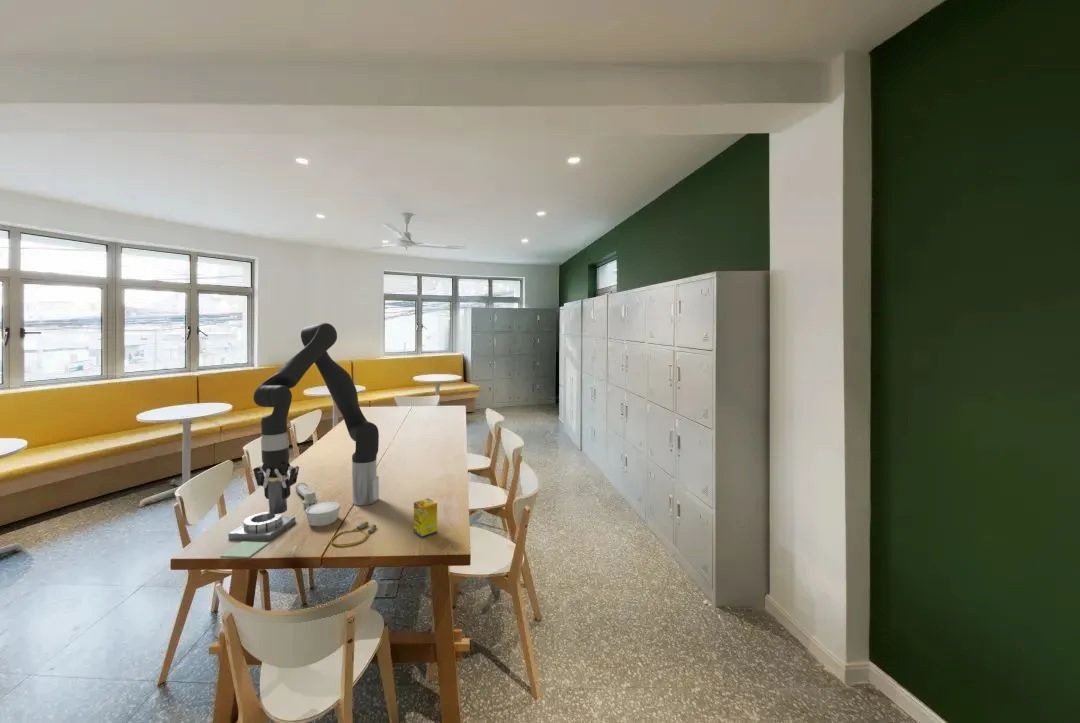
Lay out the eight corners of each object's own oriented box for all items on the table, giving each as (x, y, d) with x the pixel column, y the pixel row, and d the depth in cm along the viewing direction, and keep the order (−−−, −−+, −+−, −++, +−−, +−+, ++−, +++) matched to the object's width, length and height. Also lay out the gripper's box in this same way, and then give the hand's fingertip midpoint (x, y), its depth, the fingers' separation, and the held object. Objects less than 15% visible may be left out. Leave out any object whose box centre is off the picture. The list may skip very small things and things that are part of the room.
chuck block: (295, 522, 155) (295, 510, 155) (269, 540, 141) (269, 527, 141) (257, 520, 155) (257, 509, 155) (228, 539, 142) (228, 526, 141)
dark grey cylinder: (290, 507, 141) (289, 472, 140) (281, 514, 136) (279, 478, 135) (275, 507, 141) (273, 472, 140) (265, 514, 136) (263, 477, 135)
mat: (268, 543, 139) (268, 542, 139) (249, 557, 130) (249, 556, 130) (241, 542, 139) (241, 541, 139) (220, 556, 130) (220, 555, 130)
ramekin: (303, 519, 157) (303, 505, 157) (336, 512, 164) (336, 499, 164) (308, 531, 148) (308, 516, 148) (343, 522, 155) (343, 508, 155)
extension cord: (385, 535, 147) (385, 530, 146) (338, 552, 135) (338, 546, 135) (369, 524, 155) (369, 519, 155) (323, 539, 143) (323, 533, 143)
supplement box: (413, 532, 148) (413, 502, 147) (428, 527, 152) (428, 497, 152) (421, 538, 144) (421, 507, 143) (437, 533, 148) (437, 502, 147)
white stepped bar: (306, 481, 187) (318, 489, 168) (307, 496, 187) (319, 506, 167) (293, 483, 184) (303, 492, 164) (293, 499, 184) (304, 510, 164)
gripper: (303, 443, 141) (305, 493, 142) (261, 443, 141) (263, 493, 142) (290, 450, 133) (292, 502, 135) (245, 449, 134) (247, 502, 135)
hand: (277, 497), depth 138 cm, fingers closed on dark grey cylinder, 5 cm apart
